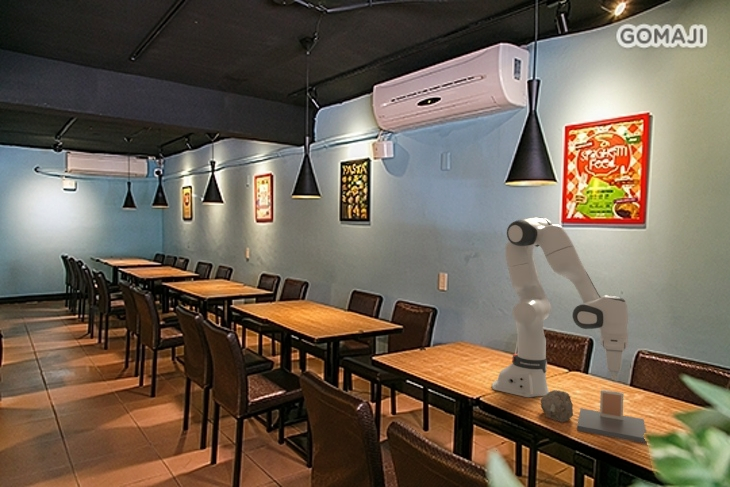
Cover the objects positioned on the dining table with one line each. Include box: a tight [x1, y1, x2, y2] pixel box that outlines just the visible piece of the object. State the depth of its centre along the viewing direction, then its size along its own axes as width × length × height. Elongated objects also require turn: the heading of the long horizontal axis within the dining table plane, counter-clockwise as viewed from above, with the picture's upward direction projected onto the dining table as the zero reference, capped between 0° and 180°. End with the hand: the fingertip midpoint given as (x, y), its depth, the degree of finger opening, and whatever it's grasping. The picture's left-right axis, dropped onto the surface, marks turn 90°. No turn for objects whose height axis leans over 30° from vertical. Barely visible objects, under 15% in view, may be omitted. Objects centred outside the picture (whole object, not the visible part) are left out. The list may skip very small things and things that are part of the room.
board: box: [576, 408, 647, 444], centre depth 163 cm, size 20×18×2 cm
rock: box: [540, 389, 574, 423], centre depth 170 cm, size 14×10×8 cm
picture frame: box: [599, 389, 624, 420], centre depth 167 cm, size 7×2×9 cm, turn 62°
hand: (614, 379), depth 173 cm, fingers closed
